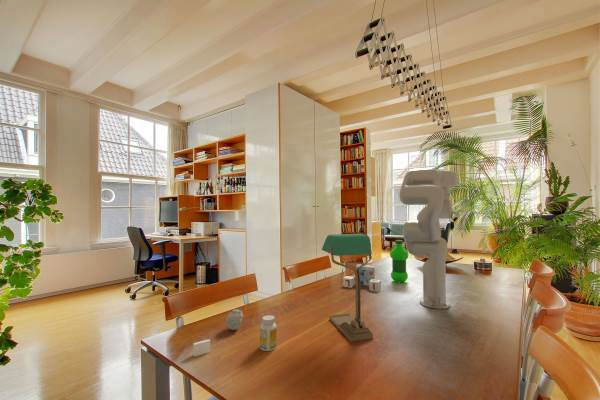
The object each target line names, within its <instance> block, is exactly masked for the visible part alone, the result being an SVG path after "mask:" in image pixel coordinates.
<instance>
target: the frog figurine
mask: <svg viewBox="0 0 600 400" xmlns="http://www.w3.org/2000/svg"><path fill="white" fill-rule="evenodd" d="M243 318H244V313H243V311H241V310H239V309H235V308H234V309H232V311H230V312H229V313H228V314H227V315H226V319H225V321H224V322H225V324H226V326H227V328H228V329H229V330H231V331H236V330H237V329H239V327H240V326H241V324H242V322H243Z"/></svg>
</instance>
